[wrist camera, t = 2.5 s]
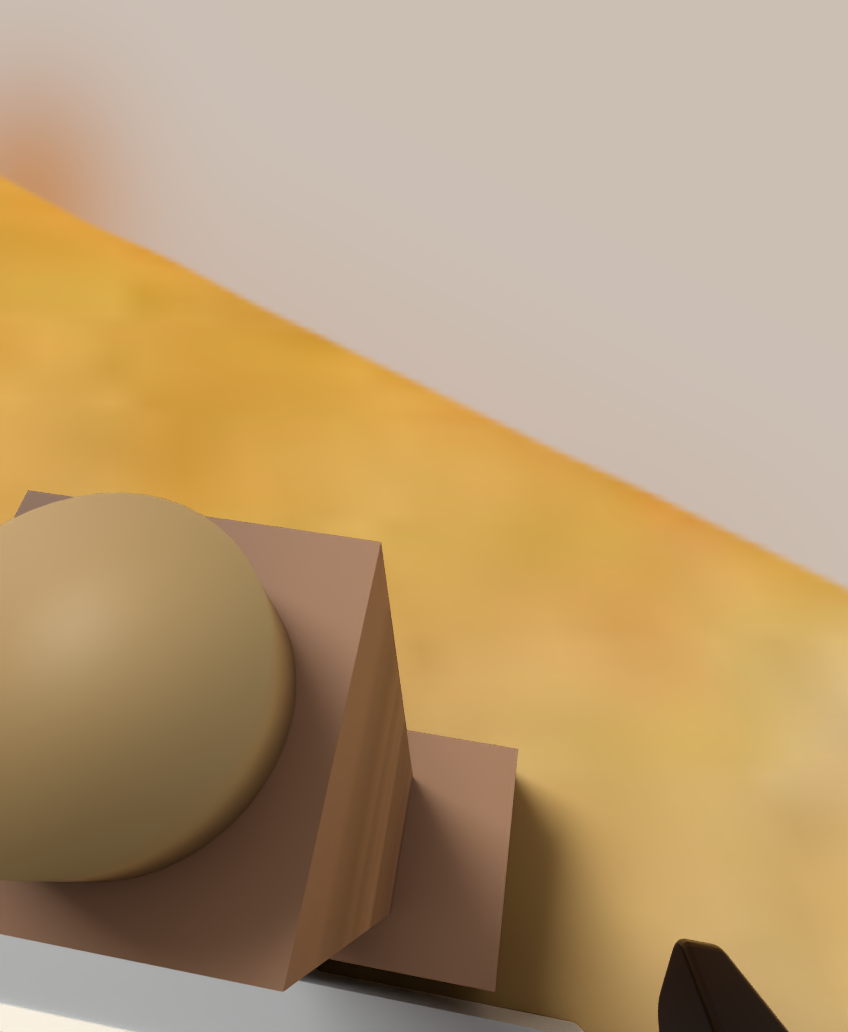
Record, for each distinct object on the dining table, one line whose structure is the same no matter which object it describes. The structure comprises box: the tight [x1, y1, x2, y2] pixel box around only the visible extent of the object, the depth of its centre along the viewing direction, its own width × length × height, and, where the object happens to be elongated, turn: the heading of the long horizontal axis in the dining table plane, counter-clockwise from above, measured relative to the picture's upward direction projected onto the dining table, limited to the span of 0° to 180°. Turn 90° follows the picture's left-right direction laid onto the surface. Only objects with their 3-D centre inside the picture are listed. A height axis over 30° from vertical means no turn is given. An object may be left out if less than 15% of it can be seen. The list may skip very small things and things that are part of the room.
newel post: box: [0, 490, 518, 992], centre depth 10 cm, size 7×4×15 cm, turn 81°
